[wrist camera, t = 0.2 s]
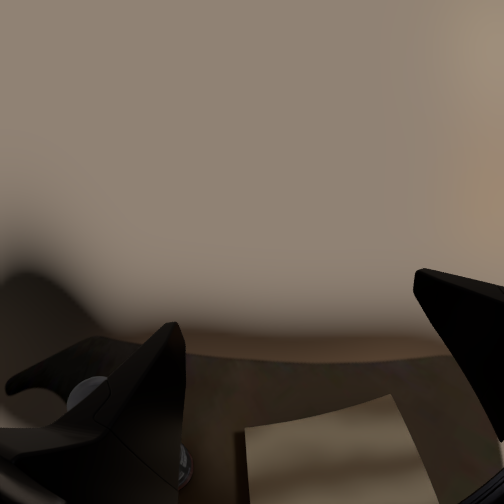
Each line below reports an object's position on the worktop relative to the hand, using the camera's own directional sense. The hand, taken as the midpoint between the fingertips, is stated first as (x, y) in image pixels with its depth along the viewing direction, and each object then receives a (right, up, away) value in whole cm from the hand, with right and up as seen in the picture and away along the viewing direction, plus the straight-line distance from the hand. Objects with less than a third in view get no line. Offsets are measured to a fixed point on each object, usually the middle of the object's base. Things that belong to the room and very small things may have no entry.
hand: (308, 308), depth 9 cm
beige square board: (+4, -15, +5) cm, 17 cm away
